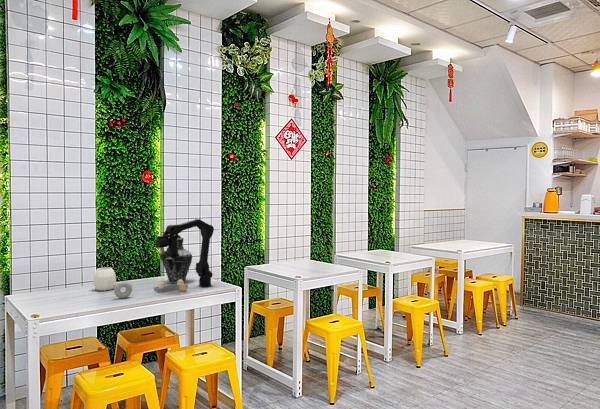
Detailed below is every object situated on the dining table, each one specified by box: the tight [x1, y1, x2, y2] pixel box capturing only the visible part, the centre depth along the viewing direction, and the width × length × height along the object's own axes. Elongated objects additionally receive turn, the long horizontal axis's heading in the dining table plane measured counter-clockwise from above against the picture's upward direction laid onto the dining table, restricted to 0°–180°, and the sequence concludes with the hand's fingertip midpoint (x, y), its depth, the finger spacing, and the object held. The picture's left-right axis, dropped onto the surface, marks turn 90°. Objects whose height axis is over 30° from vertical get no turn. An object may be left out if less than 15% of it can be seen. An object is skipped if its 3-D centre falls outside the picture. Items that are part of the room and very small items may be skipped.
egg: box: [178, 283, 187, 293], centre depth 297 cm, size 4×4×5 cm
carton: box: [153, 279, 189, 293], centre depth 303 cm, size 19×7×6 cm, turn 128°
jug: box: [160, 237, 193, 284], centre depth 325 cm, size 21×19×30 cm
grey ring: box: [113, 280, 133, 299], centre depth 280 cm, size 10×4×10 cm, turn 121°
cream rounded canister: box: [92, 266, 117, 292], centre depth 305 cm, size 13×13×14 cm
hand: (174, 271), depth 296 cm, fingers open, 9 cm apart
